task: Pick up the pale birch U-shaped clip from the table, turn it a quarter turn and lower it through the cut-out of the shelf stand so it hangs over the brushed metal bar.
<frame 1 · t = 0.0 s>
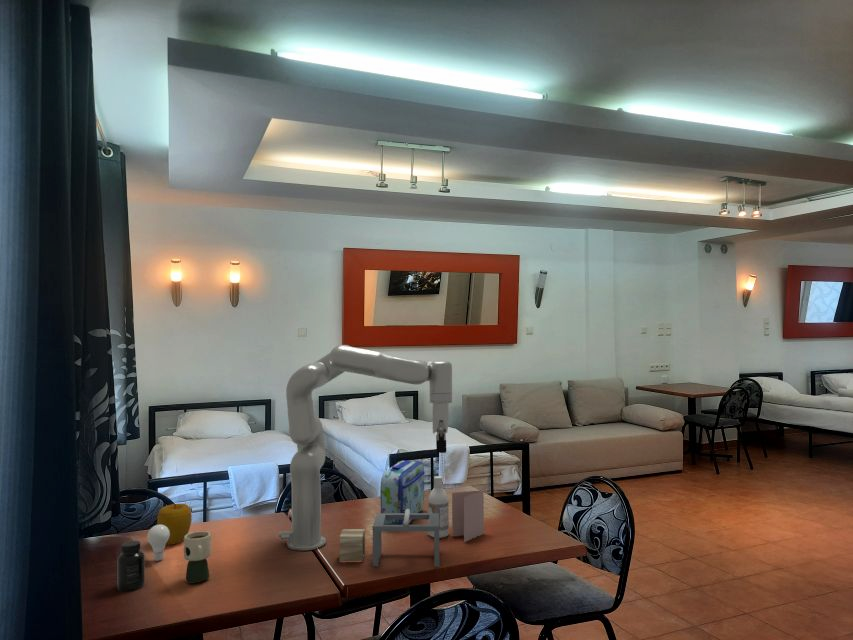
hand: (441, 449, 200), 31 cm above the table, tool pointing down, fingers open, 9 cm apart
shelf stand: (407, 558, 187), on the table
birch clip: (352, 558, 187), on the table
bath foam: (438, 535, 209), on the table
lightbulb: (158, 561, 187), on the table
greeting card: (470, 538, 205), on the table
supplement bottle: (131, 587, 168), on the table
lunch box: (403, 519, 227), on the table
apple: (174, 543, 203), on the table
character mug: (197, 581, 171), on the table
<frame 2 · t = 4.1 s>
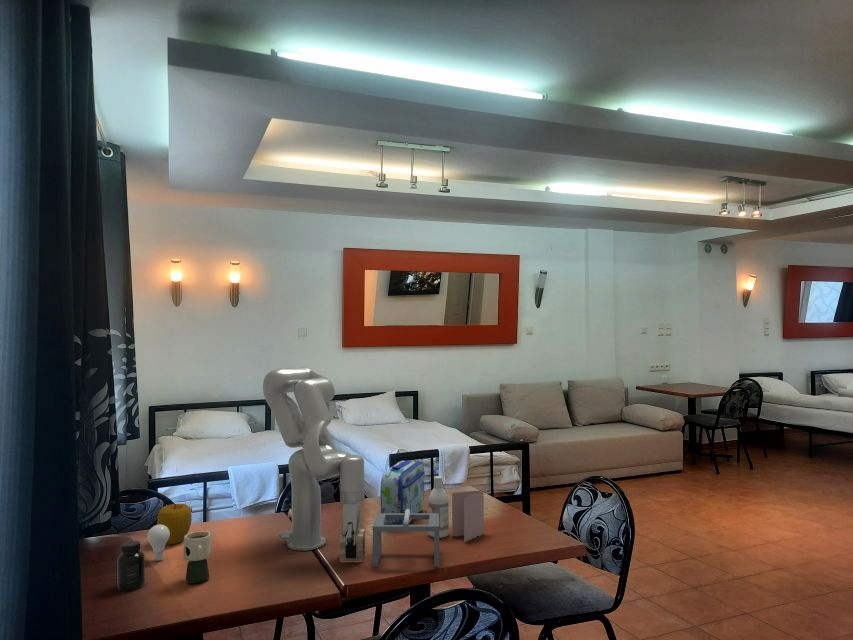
hand: (352, 553, 187), 2 cm above the table, tool pointing down, fingers closed on birch clip, 6 cm apart
birch clip: (352, 558, 187), on the table, touching gripper
everything else where it was.
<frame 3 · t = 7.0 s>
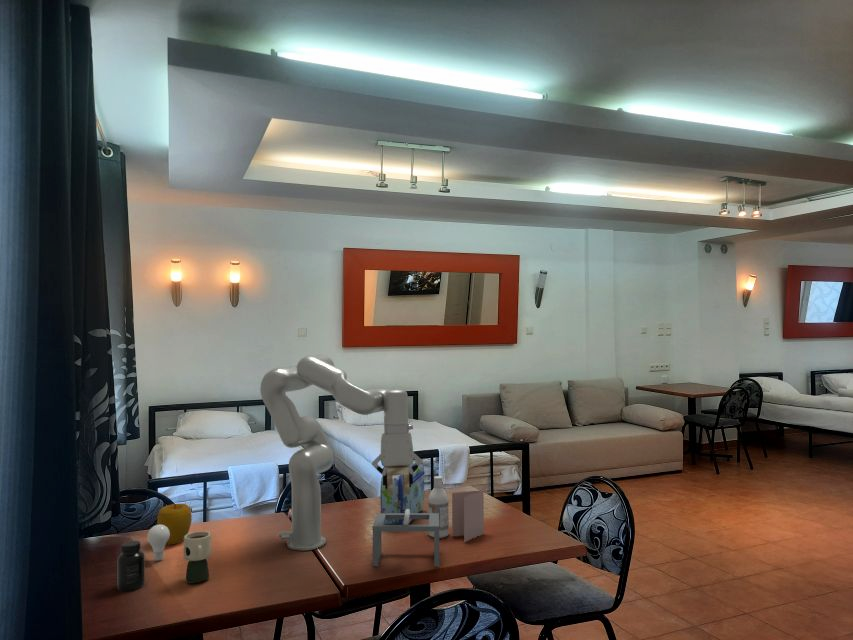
hand: (397, 486, 187), 22 cm above the table, tool pointing down, fingers closed on birch clip, 6 cm apart
birch clip: (397, 492, 187), point 21 cm above the table, touching gripper
everything else where it was.
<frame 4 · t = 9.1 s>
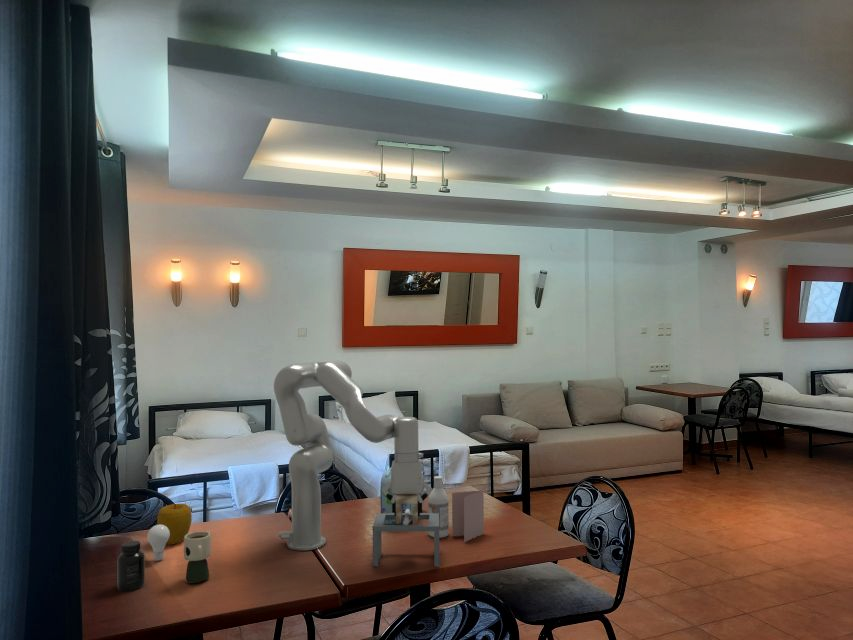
hand: (407, 514, 187), 14 cm above the table, tool pointing down, fingers closed on birch clip, 6 cm apart
birch clip: (407, 519, 187), point 12 cm above the table, touching gripper
everything else where it was.
when the fingers open (11 cm above the table, at t = 10.3 s): birch clip drops 2 cm, resting on shelf stand.
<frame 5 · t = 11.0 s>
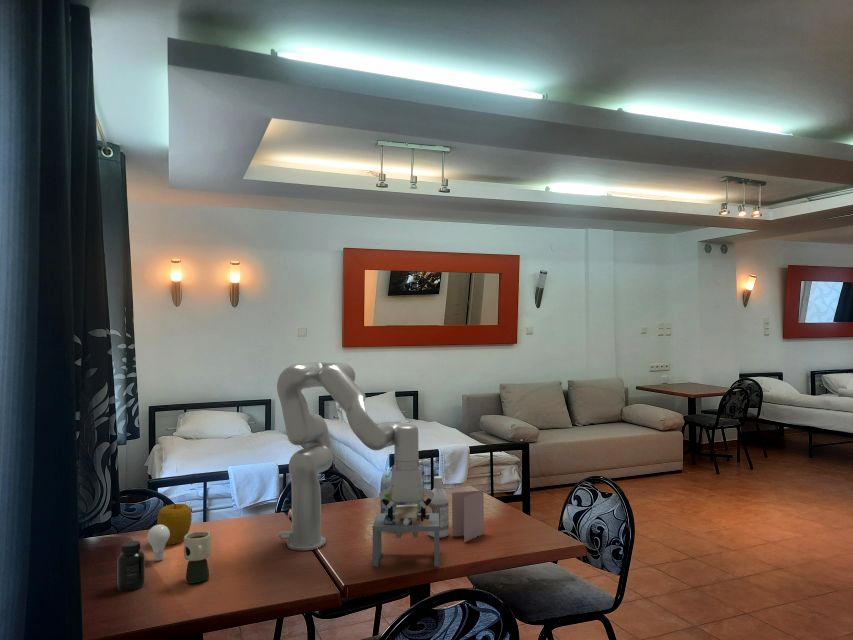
hand: (406, 519, 187), 12 cm above the table, tool pointing down, fingers open, 9 cm apart
birch clip: (407, 533, 187), point 8 cm above the table, touching shelf stand
everything else where it was.
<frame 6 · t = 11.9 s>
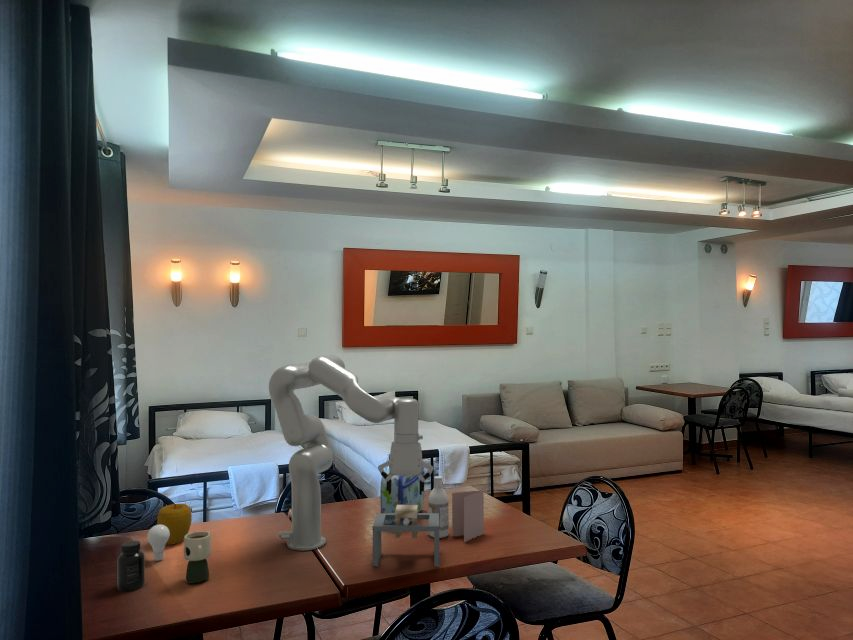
hand: (405, 493, 188), 20 cm above the table, tool pointing down, fingers open, 9 cm apart
nothing on the table moved.
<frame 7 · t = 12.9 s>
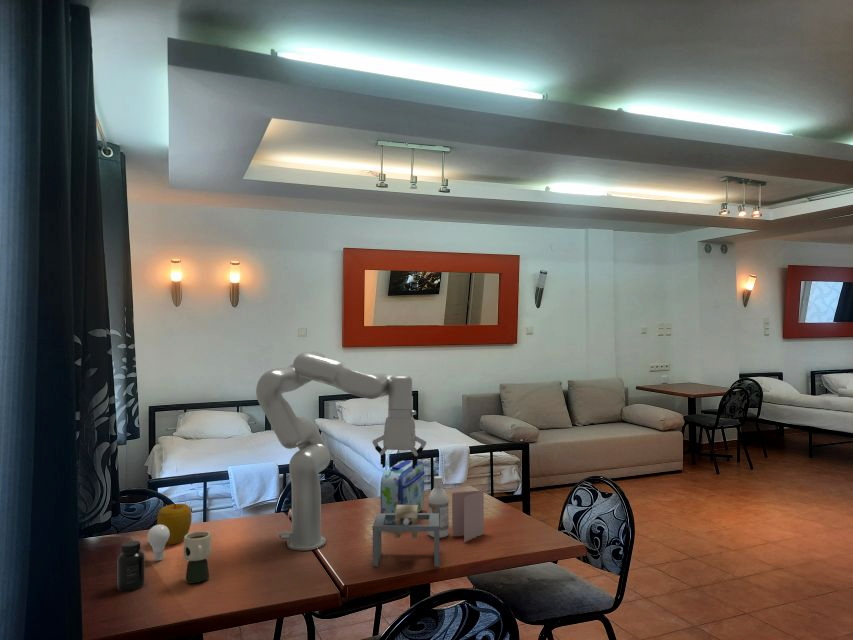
hand: (398, 467, 193), 27 cm above the table, tool pointing down, fingers open, 9 cm apart
nothing on the table moved.
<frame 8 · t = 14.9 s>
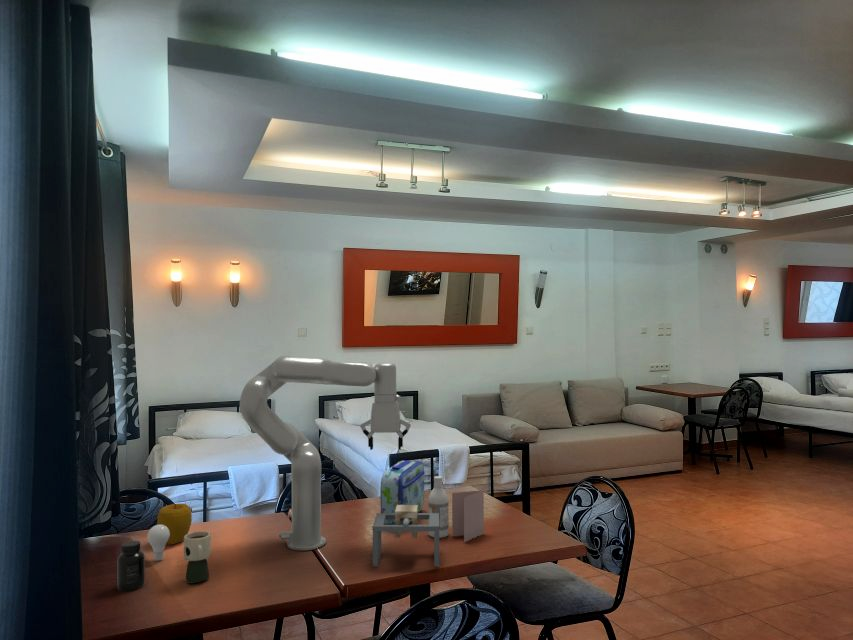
hand: (385, 449, 206), 30 cm above the table, tool pointing down, fingers open, 9 cm apart
nothing on the table moved.
at the end: birch clip inside the target area on the shelf stand (0.1 cm from its centre), point 7.6 cm above the shelf stand's base; birch clip touching shelf stand; the gripper is holding nothing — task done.
